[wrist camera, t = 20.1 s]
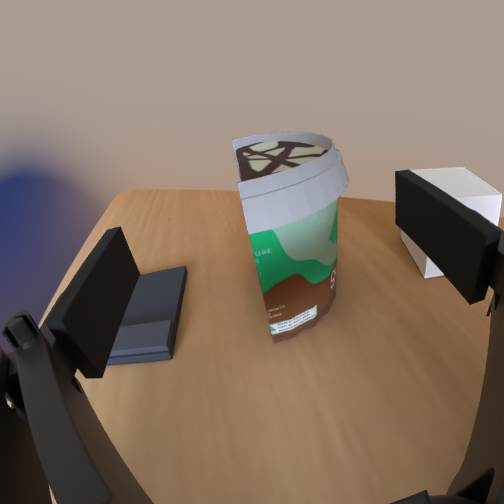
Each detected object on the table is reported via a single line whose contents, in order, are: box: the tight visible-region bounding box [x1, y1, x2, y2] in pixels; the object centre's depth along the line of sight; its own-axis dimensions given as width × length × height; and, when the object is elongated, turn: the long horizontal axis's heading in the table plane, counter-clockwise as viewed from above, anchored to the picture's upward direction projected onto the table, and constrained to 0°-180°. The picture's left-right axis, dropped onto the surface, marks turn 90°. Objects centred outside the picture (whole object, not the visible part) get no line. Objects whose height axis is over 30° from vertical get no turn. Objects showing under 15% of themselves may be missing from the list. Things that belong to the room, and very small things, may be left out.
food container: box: [232, 132, 349, 343], centre depth 19 cm, size 12×6×10 cm, turn 5°
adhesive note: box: [401, 167, 502, 278], centre depth 20 cm, size 6×6×6 cm
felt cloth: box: [107, 266, 187, 365], centre depth 22 cm, size 10×10×1 cm
